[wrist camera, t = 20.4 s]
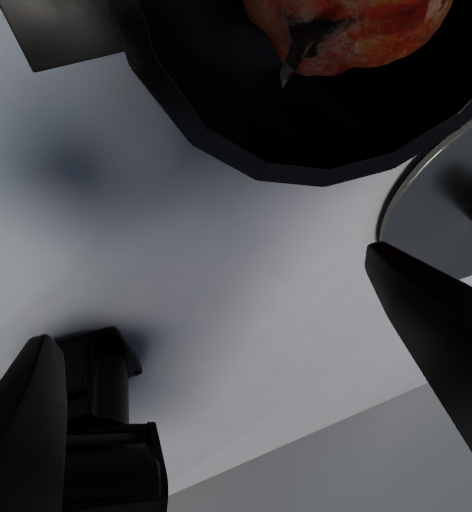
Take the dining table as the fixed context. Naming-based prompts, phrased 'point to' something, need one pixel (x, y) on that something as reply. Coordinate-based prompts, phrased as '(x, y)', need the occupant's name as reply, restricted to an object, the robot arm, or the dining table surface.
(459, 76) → the pan
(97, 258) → the dining table surface
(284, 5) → the red apple
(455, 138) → the lid
